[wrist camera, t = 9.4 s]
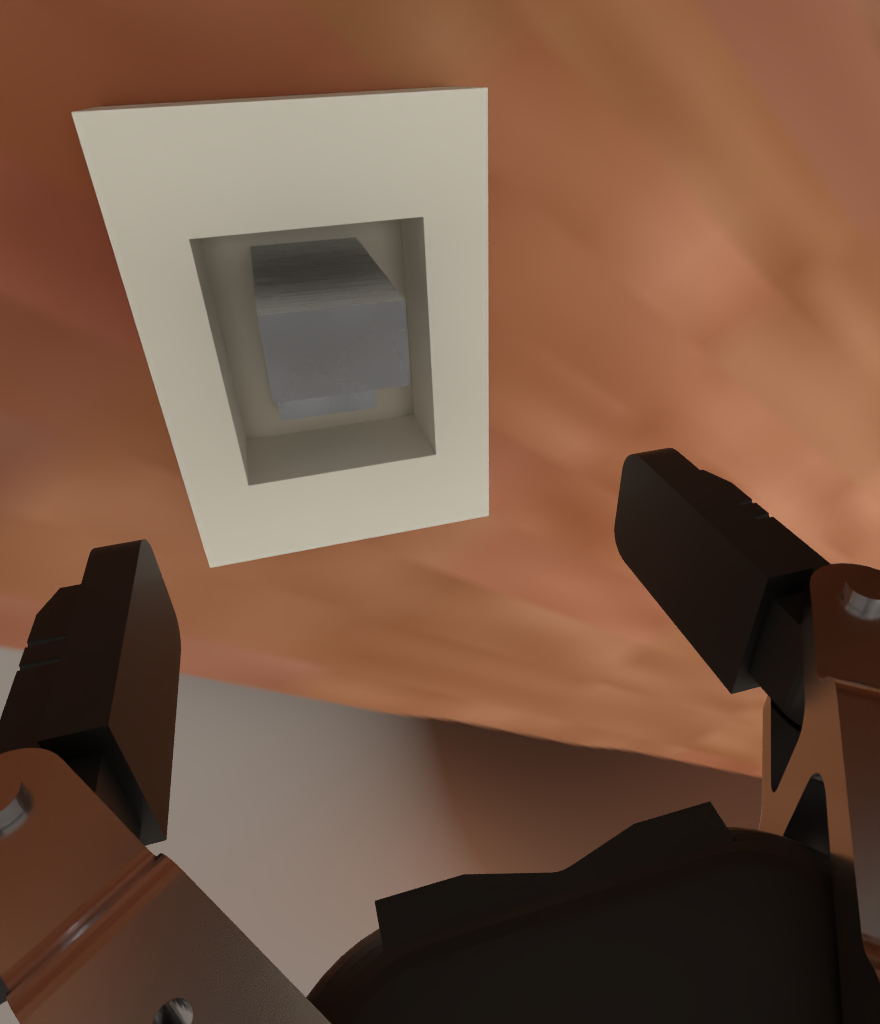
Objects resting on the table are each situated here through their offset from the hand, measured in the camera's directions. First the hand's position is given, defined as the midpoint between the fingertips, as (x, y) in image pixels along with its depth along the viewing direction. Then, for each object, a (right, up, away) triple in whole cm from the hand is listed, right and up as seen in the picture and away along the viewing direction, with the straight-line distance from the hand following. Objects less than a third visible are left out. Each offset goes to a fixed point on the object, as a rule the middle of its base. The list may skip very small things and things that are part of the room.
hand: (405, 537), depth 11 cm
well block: (-5, +8, +16) cm, 19 cm away
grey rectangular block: (-4, +8, +16) cm, 18 cm away
